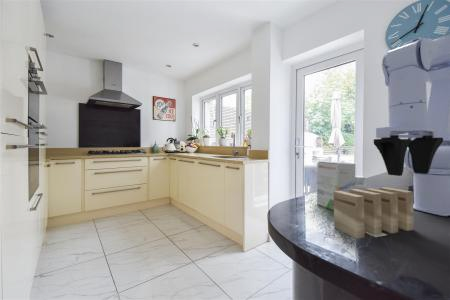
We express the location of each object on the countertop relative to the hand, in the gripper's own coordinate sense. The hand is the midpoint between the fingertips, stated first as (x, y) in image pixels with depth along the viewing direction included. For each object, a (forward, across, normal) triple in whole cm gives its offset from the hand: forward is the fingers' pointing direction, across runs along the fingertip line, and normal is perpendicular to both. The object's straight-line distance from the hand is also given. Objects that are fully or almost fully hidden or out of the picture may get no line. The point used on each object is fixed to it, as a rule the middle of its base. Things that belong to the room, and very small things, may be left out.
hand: (408, 174), depth 41 cm
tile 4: (+10, +15, -1) cm, 18 cm away
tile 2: (+10, +7, 0) cm, 12 cm away
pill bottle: (+10, -2, -13) cm, 17 cm away
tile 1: (+10, +4, 0) cm, 10 cm away
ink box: (+10, +4, -14) cm, 18 cm away
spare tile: (+10, +11, 0) cm, 15 cm away
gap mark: (+10, +11, 0) cm, 15 cm away
